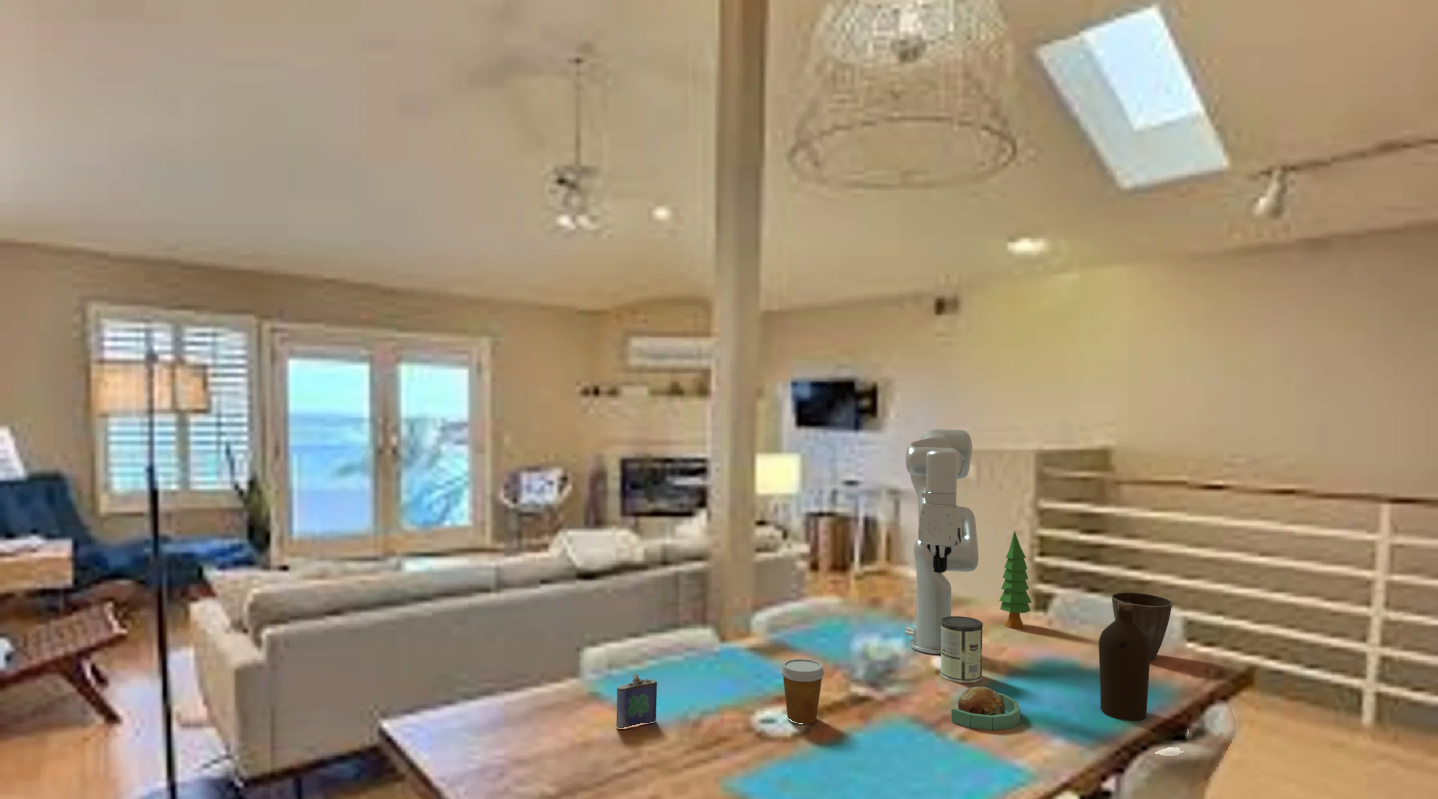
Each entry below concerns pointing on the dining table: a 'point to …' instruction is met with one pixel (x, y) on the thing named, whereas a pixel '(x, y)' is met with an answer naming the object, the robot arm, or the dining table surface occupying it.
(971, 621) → the coffee can
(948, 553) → the robot arm
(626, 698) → the flask
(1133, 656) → the olive oil
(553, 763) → the dining table surface
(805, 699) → the disposable coffee cup
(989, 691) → the bread roll
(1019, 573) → the decorative tree
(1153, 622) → the plant pot
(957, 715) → the segmented green arc
